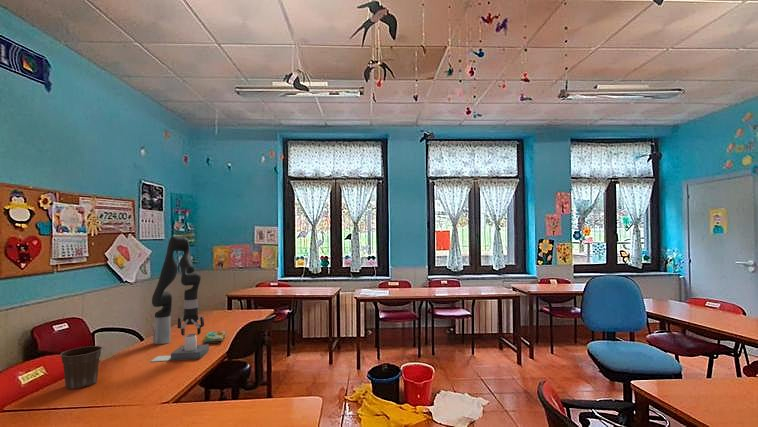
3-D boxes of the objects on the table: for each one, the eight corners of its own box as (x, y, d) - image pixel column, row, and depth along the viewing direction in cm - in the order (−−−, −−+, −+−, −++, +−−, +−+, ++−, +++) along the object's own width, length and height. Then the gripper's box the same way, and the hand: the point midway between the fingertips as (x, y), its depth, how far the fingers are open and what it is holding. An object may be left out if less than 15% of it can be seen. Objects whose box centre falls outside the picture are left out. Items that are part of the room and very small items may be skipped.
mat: (150, 362, 223) (150, 361, 223) (157, 357, 232) (157, 356, 232) (167, 361, 224) (167, 360, 224) (173, 356, 233) (173, 355, 233)
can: (193, 353, 238) (193, 333, 239) (198, 355, 234) (198, 334, 235) (182, 356, 233) (182, 335, 234) (187, 358, 229) (187, 337, 230)
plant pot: (52, 393, 181) (52, 357, 182) (69, 380, 196) (70, 347, 197) (93, 388, 185) (93, 353, 186) (107, 376, 201) (107, 344, 201)
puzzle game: (226, 329, 278) (222, 336, 258) (226, 336, 277) (222, 344, 258) (208, 331, 275) (202, 338, 255) (208, 337, 275) (202, 345, 255)
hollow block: (170, 360, 225) (170, 353, 225) (181, 352, 241) (181, 345, 241) (200, 359, 227) (200, 352, 227) (208, 350, 243) (208, 344, 243)
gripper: (205, 305, 240) (205, 332, 239) (180, 306, 238) (180, 334, 237) (201, 307, 232) (201, 335, 231) (175, 308, 231) (175, 337, 230)
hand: (190, 334), depth 234 cm, fingers open, 8 cm apart
